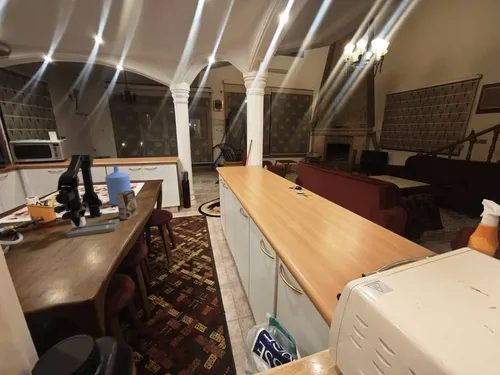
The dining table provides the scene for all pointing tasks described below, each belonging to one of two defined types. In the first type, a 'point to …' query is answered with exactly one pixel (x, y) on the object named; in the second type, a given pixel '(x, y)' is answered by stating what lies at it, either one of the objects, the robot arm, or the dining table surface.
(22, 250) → the dining table surface
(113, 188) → the water jug
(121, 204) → the coffee box
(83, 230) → the console board
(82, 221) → the fader knob
